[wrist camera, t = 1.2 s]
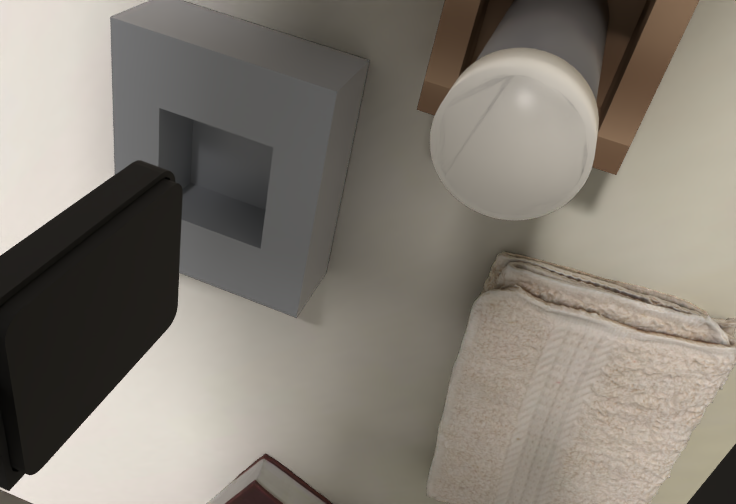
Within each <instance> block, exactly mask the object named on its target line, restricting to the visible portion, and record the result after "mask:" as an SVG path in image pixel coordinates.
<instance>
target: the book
mask: <svg viewBox="0 0 736 504" xmlns="http://www.w3.org/2000/svg"><path fill="white" fill-rule="evenodd" d="M207 504H332V503H331V502H330V501H329V500H327V499H326V498H325V497H324V496H322V495H321V494H320V493H318V492H317V491H316V490H314V489H313V488H312V487H310V486H309V485H308V484H307V483H305V482H304V481H303V480H302V479H301V478H299V477H298V476H296V475H295V474H294V473H293V472H291V471H290V470H289V469H287V468H286V467H285V466H283V465H282V464H281V463H279V462H278V461H277V460H275V459H273V458H272V457H270V456H268V455H267V454H265V455H263V456H262V457H261V458H259V459H258V460H256V461H255V462H254V463H253V464H252V465H251V466H249V467H248V468H247V469H246V470H244V471H243V472H242V473H241V474H240V475H239V476H238V477H237V478H236V479H235V480H234V481H232V482H231V483H230V484H229V485H228V486H227V487H225V488H224V489H223V490H222V491H221V492H220V493H219V494H217V495H216V496H215V497H214V498H213V499H211V500H210V501H209V502H208V503H207Z"/></svg>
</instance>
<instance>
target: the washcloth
mask: <svg viewBox="0 0 736 504" xmlns="http://www.w3.org/2000/svg"><path fill="white" fill-rule="evenodd" d="M735 329H736V319H734V318H728V319H726V320H724V319H715V318H711V317H710V316H709V314H708V313H707V311H704V310H702V309H700V308H698V307H697V306H696V305H694V304H692V303H690V302H688V301H687V300H683V299H680V298H678V297H676V296H672V295H669V294H666V293H661V292H659V291H656V290H652V289H649V288H646V287H641V286H638V285H632V284H629V283H623V282H620V281H613V280H609V279H604V278H601V277H597V276H594V275H591V274H588V273H585V272H583V271H578V270H575V269H573V268H569V267H566V266H561V265H557V264H554V263H549V262H546V261H543V260H539V259H535V258H531V257H527V256H523V255H519V254H512V253H508V252H501V253H499V254H498V255H497V256H496V261H495V262H494V263H493V264H492V266H491V272H490V274H489V277H488V278H487V279H486V281H485V282H484V288H483V291H482V292H481V293H480V296H479V297H478V298H477V299H476V300H475V301H474V303H473V305H472V308H471V312H470V316H469V319H468V324H467V327H466V331H465V334H464V337H463V339H462V343H461V346H460V350H459V353H458V356H457V358H456V361H455V363H454V366H453V369H452V373H451V377H450V381H449V386H448V391H447V396H446V402H445V405H444V410H443V415H442V418H441V422H440V424H439V427H438V436H437V442H436V447H435V452H434V457H433V460H432V463H431V467H430V471H429V477H428V480H427V487H426V489H427V494H426V495H427V496H429V497H434V499H435V500H437V501H441V502H447V503H452V504H650V503H651V500H652V498H653V497H655V496H656V495H657V494H658V489H659V487H660V485H662V483H663V482H664V481H665V480H666V479H667V478H670V477H671V476H670V473H671V471H670V470H671V468H673V465H674V463H676V459H677V458H679V457H680V452H681V451H682V450H683V449H685V448H686V446H687V442H688V441H689V439H690V435H691V433H692V431H693V430H694V429H695V428H696V426H697V425H698V424H700V420H701V419H702V417H703V416H704V413H705V410H706V407H707V406H709V404H710V403H713V399H714V398H715V397H716V394H717V391H718V390H719V389H723V386H722V385H724V384H725V382H726V381H727V379H728V375H729V373H730V372H731V371H732V369H733V367H734V365H735V364H736V338H734V333H735Z"/></svg>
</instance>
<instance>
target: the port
mask: <svg viewBox="0 0 736 504" xmlns="http://www.w3.org/2000/svg"><path fill="white" fill-rule="evenodd" d="M110 22H111V57H112V92H113V127H114V162H115V175H116V174H117V173H118V172H120V171H121V170H123V169H124V168H125V167H127V166H128V165H130V164H131V163H133V162H135V161H137V160H141V161H144V162H147V163H150V164H152V165H155V166H158V167H161V168H163V169H166V170H169V171H171V172H172V173H173V174H174V176H175V182H176V183H179V184H180V185H181V186H182V190H183V198H182V220H181V242H180V264H179V273H181V274H184V275H186V276H189V277H192V278H194V279H197V280H199V281H202V282H205V283H207V284H210V285H212V286H215V287H218V288H220V289H223V290H225V291H228V292H230V293H233V294H236V295H238V296H241V297H243V298H246V299H249V300H251V301H254V302H256V303H259V304H262V305H264V306H267V307H269V308H272V309H275V310H277V311H280V312H282V313H285V314H288V315H290V316H293V317H295V318H297V316H298V315H299V313H300V312H301V310H302V309H303V307H304V306H305V304H306V303H307V301H308V300H309V298H310V297H311V295H312V294H313V292H314V291H315V289H316V288H317V286H318V285H319V283H320V282H321V280H322V279H323V277H324V276H325V274H326V272H327V267H328V262H329V257H330V252H331V247H332V242H333V237H334V232H335V228H336V223H337V218H338V213H339V208H340V203H341V198H342V193H343V188H344V183H345V179H346V174H347V169H348V164H349V159H350V154H351V149H352V144H353V139H354V135H355V130H356V125H357V120H358V115H359V110H360V105H361V100H362V95H363V90H364V86H365V81H366V76H367V71H368V66H369V61H370V60H367V59H363V58H360V57H357V56H354V55H351V54H348V53H345V52H342V51H338V50H335V49H332V48H329V47H326V46H323V45H320V44H317V43H314V42H310V41H307V40H304V39H301V38H298V37H295V36H292V35H289V34H285V33H282V32H279V31H276V30H273V29H270V28H267V27H264V26H260V25H257V24H254V23H251V22H248V21H245V20H242V19H239V18H235V17H232V16H229V15H226V14H223V13H220V12H217V11H214V10H211V9H207V8H204V7H201V6H198V5H195V4H192V3H189V2H186V1H182V0H150V1H148V2H145V3H143V4H140V5H138V6H136V7H133V8H131V9H128V10H126V11H124V12H121V13H119V14H116V15H114V16H111V17H110Z"/></svg>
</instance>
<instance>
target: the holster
mask: <svg viewBox="0 0 736 504" xmlns="http://www.w3.org/2000/svg"><path fill="white" fill-rule="evenodd" d="M513 1H514V0H445V2H444V6H443V10H442V13H441V17H440V21H439V25H438V29H437V33H436V37H435V41H434V44H433V48H432V52H431V56H430V60H429V64H428V68H427V71H426V75H425V79H424V83H423V87H422V91H421V95H420V99H419V102H418V106H417V110H419V111H423V112H426V113H429V114H432V115H435V114H436V112H437V110H438V108H439V106H440V104H441V103H442V101H443V100H444V98H445V97H446V95H447V94H448V92H449V91H450V89H451V88H452V86H453V85H454V83H455V82H456V80H457V79H458V78H459V76H460V75H461V74H462V73H463V72H464V71H465V70H466V69H467V68H468V67H469V66H470V65H471V64H473V63H474V62H475V61H476V60H477V58H478V56H479V55H480V53H481V52H482V50H483V49H484V47H485V45H486V44H487V42H488V41H489V39H490V38H491V36H492V34H493V33H494V31H495V30H496V28H497V27H498V25H499V23H500V22H501V20H502V19H503V17H504V16H505V14H506V12H507V11H508V9H509V8H510V6H511V5H512V3H513ZM698 2H699V0H607V3H608V7H609V23H608V29H607V36H606V42H605V49H604V55H603V61H602V68H601V74H600V81H599V87H598V93H597V100H596V103H597V108H598V116H599V126H598V135H597V142H596V150H595V157H594V161H593V166H592V167H593V168H596V169H599V170H602V171H605V172H608V173H612V174H615V175H616V174H617V172H618V170H619V168H620V166H621V164H622V162H623V159H624V157H625V155H626V153H627V151H628V149H629V147H630V145H631V143H632V141H633V138H634V136H635V134H636V132H637V130H638V128H639V126H640V124H641V122H642V120H643V117H644V115H645V113H646V111H647V109H648V107H649V105H650V103H651V101H652V99H653V96H654V94H655V92H656V90H657V88H658V86H659V84H660V82H661V80H662V78H663V75H664V73H665V71H666V69H667V67H668V65H669V63H670V61H671V59H672V56H673V54H674V52H675V50H676V48H677V46H678V44H679V42H680V40H681V38H682V35H683V33H684V31H685V29H686V27H687V25H688V23H689V21H690V19H691V17H692V14H693V12H694V10H695V8H696V6H697V4H698Z"/></svg>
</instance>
